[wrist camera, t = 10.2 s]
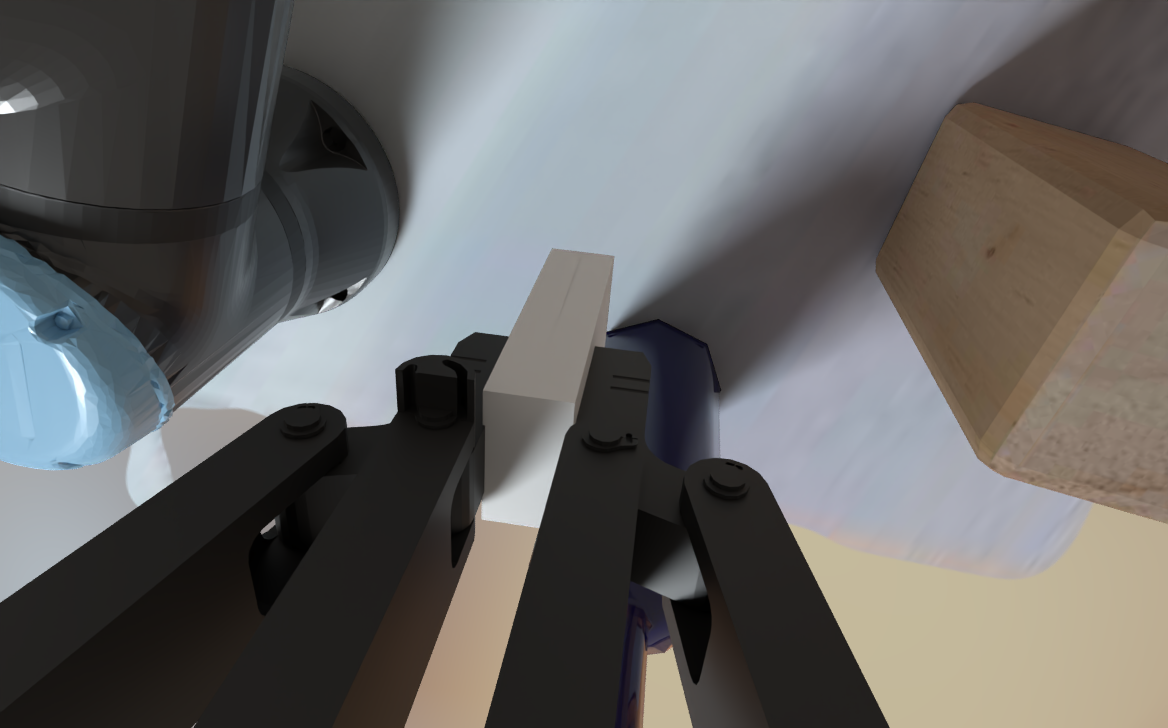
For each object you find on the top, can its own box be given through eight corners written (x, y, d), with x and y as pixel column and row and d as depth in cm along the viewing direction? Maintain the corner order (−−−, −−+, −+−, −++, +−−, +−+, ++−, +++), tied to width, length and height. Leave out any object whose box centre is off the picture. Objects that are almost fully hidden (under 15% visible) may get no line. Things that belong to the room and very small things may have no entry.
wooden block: (948, 93, 37) (1158, 206, 20) (1136, 147, 37) (1510, 307, 20) (865, 268, 42) (974, 480, 25) (1030, 316, 42) (1255, 561, 25)
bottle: (586, 310, 46) (431, 756, 20) (731, 327, 45) (764, 817, 19) (578, 430, 51) (444, 919, 25) (711, 447, 50) (715, 974, 24)
